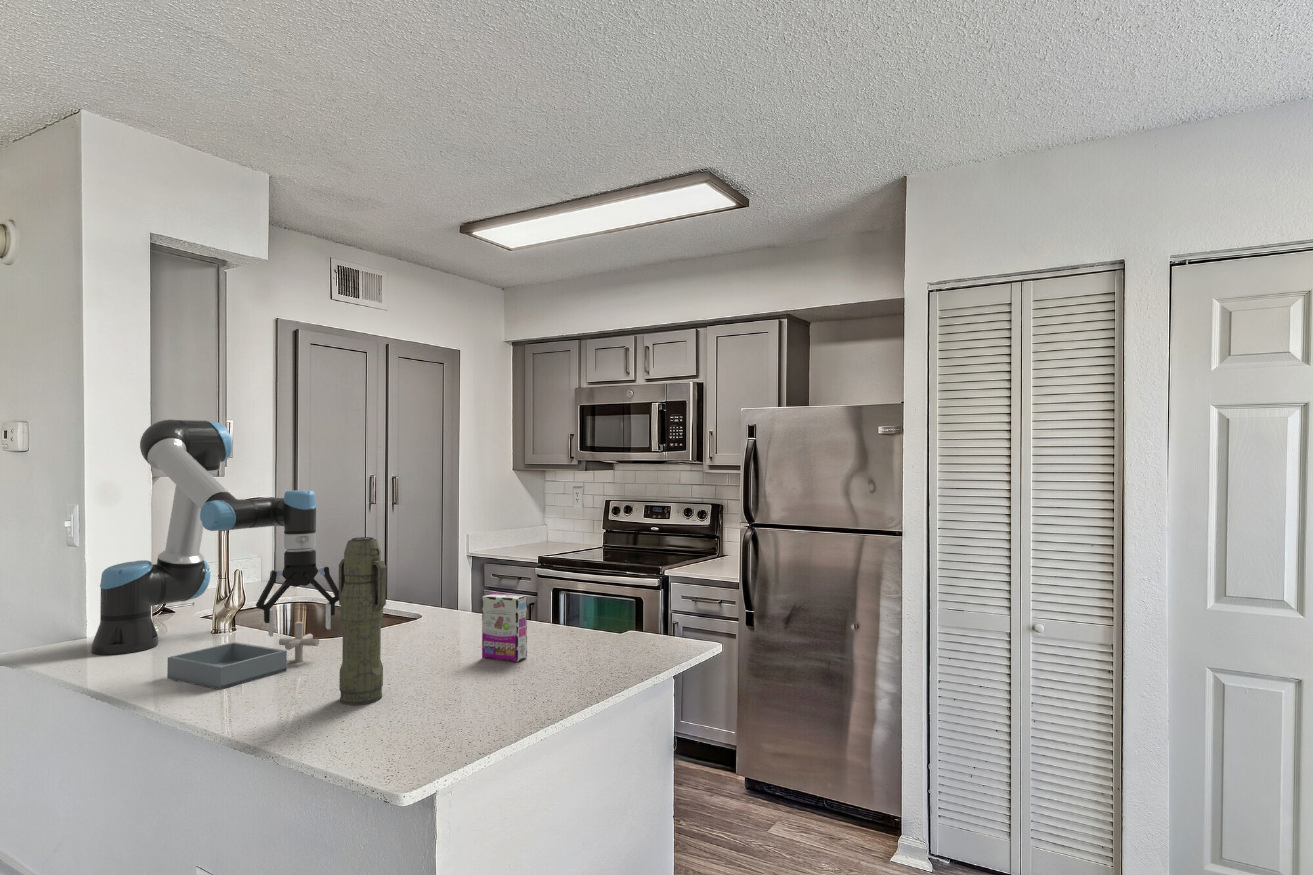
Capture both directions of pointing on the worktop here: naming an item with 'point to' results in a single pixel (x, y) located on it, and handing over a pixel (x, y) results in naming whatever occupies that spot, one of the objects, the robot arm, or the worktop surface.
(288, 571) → the robot arm
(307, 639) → the pipe connector
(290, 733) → the worktop surface
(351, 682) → the thermos
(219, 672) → the bin
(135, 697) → the worktop surface
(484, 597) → the candy bar box
